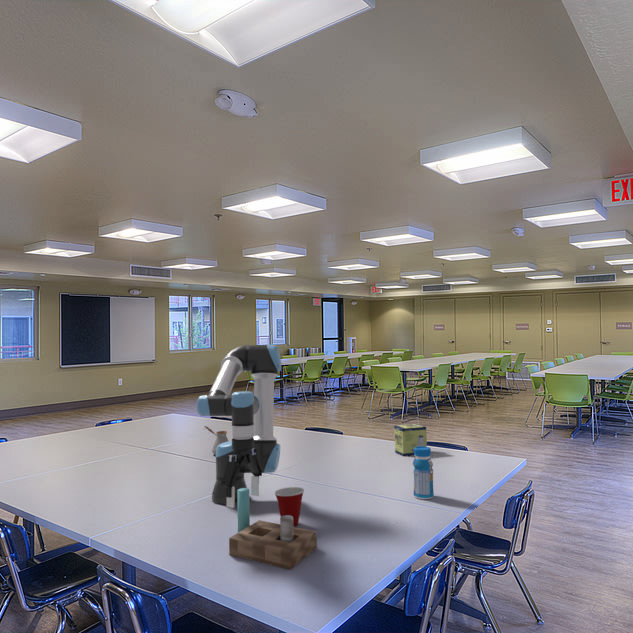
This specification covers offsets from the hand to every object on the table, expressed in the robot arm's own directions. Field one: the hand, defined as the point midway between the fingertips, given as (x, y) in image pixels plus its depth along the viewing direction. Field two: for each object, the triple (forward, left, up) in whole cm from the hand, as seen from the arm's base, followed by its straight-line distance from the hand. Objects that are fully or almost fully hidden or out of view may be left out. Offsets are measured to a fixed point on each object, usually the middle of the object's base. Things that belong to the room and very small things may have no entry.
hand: (243, 501), depth 160 cm
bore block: (+6, +16, -11) cm, 20 cm away
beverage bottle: (-64, +44, -12) cm, 79 cm away
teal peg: (0, 0, -11) cm, 11 cm away
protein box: (-135, +17, -12) cm, 137 cm away
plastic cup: (-15, +9, -12) cm, 21 cm away
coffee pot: (-89, -87, -12) cm, 125 cm away
